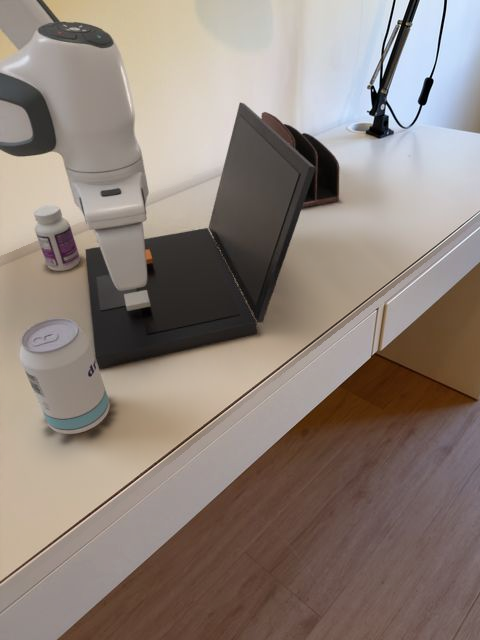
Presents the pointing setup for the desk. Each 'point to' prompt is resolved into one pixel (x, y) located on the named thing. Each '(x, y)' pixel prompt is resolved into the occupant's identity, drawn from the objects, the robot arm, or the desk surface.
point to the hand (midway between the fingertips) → (131, 283)
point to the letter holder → (318, 155)
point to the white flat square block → (137, 300)
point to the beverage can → (64, 375)
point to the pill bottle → (56, 238)
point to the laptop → (168, 302)
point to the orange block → (148, 257)
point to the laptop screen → (258, 206)
